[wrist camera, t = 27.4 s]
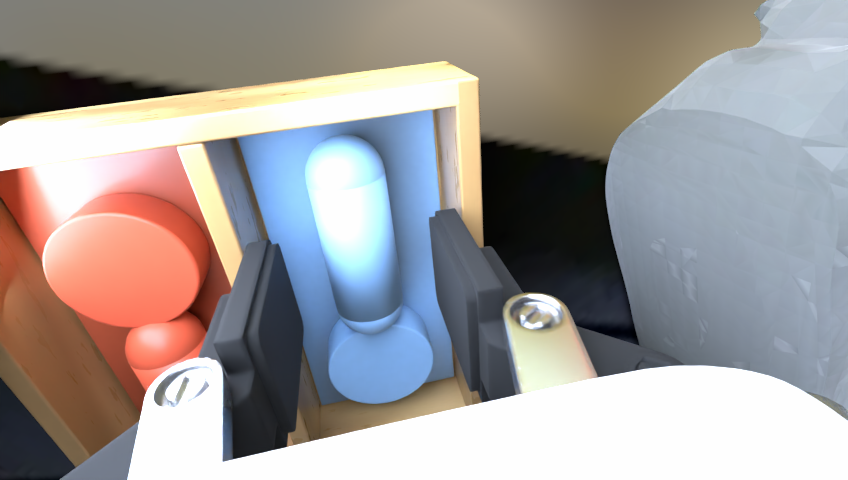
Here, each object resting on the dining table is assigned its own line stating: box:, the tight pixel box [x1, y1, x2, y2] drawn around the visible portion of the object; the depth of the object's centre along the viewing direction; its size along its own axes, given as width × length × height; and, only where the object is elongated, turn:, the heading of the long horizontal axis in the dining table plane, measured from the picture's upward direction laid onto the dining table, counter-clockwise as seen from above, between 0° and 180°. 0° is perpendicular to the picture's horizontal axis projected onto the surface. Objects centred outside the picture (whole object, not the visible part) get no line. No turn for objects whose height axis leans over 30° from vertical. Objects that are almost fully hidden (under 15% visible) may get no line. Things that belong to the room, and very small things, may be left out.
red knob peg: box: [43, 193, 211, 392], centre depth 14 cm, size 10×4×2 cm, turn 6°
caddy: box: [0, 61, 483, 467], centre depth 14 cm, size 13×13×3 cm
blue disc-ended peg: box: [305, 135, 434, 404], centre depth 14 cm, size 10×4×2 cm, turn 5°
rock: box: [605, 0, 848, 410], centre depth 15 cm, size 18×11×8 cm, turn 23°
